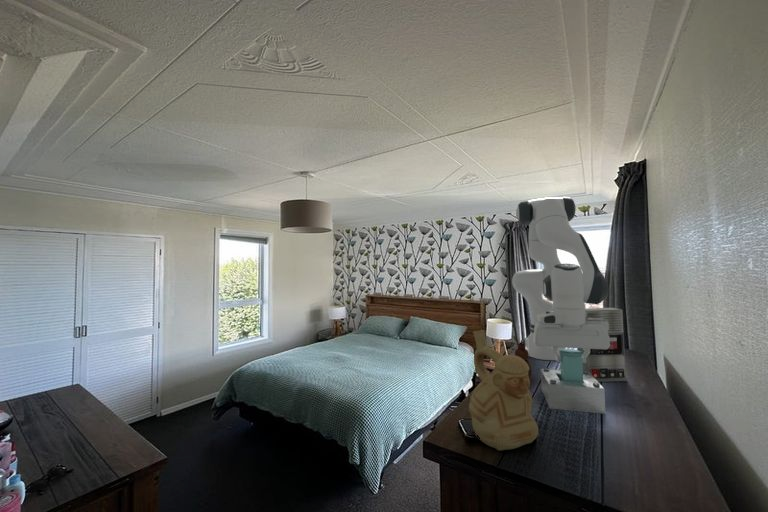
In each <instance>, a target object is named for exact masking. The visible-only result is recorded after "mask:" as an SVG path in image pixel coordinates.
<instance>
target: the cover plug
mask: <svg viewBox="0 0 768 512" xmlns="http://www.w3.org/2000/svg"><path fill="white" fill-rule="evenodd" d="M559 353H560V355H561V356H562V362H559V364H560V366H559V367H560V368H559V370H561V381H571V382H583V362H582V352H581V351H578V350H577V349H575V348H565V349H560V350H559Z"/></svg>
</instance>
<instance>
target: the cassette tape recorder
mask: <svg viewBox="0 0 768 512" xmlns="http://www.w3.org/2000/svg"><path fill="white" fill-rule="evenodd" d="M585 311H586V317H594V318H597V317H601V318H603V319H605V320H607V321H608V323H609V330H608V336H609V341H610V347H609V348H608V349H590V354H589V355H588V356H587V358H586V363H583V370H585V371H588V372H589V373H590V374H591V375H592V376H593V377H594V378H595V379H596V380H597V381H598V382H599V383H602V382H603V383H605V382H607V383H609V382H627V381H629V379H628V377H627V375H626V374H627V373H626V356H625V355H626V354H625V352H626V351H625V337H624V336H625V335H624V334H625V333H624V330H625V329H624V311H623V309H621V308H616V307H596V308H595V307H593V308H592V307H589V308H587V307H585ZM603 321H604V320H603ZM576 350H578V351H581V352H582V355H583V353H584V352H585V351H584V350H583V348H576Z"/></svg>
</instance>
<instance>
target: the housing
mask: <svg viewBox="0 0 768 512" xmlns="http://www.w3.org/2000/svg"><path fill="white" fill-rule="evenodd" d="M540 384H541V392H542V393H543V396H544V398H545V401H546V403H547V406H548V407H549V409H551V410H559V411H560V410H563V411H573V412H581V413H592V414H601V415H606V414H607V413H606V395H605V394H606V392H605V388H604V387H603V386H602V384H601V382H598V381H597V380H596V379H595V378H594V377H593V376H592V375H591V374H590V373H589V372H588V371H585V370H583V382H571V381H561V370H560V369H553V368H552V369H550V368H549V367H544V368H540Z"/></svg>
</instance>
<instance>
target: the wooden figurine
mask: <svg viewBox="0 0 768 512" xmlns="http://www.w3.org/2000/svg"><path fill="white" fill-rule="evenodd" d="M525 347H526V342H525V339H523V340H522V339H520V342H519V343H517V348H516V349H515V350H514V355H515V356H518V357H520V358H522V359H523V360H524V361H525V362H526V363H527V364H528V366H529V371H528V377H529V379H530V380H531V377H532V364H531V362H530V360H528V359H529V357H530V356H529V354H528V351H527V350H526V349H525Z"/></svg>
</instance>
